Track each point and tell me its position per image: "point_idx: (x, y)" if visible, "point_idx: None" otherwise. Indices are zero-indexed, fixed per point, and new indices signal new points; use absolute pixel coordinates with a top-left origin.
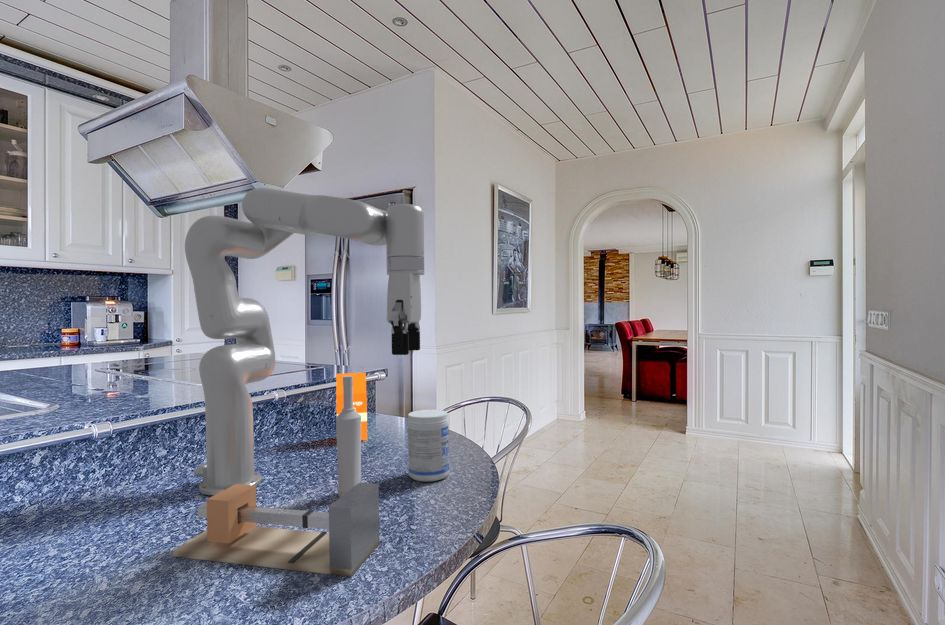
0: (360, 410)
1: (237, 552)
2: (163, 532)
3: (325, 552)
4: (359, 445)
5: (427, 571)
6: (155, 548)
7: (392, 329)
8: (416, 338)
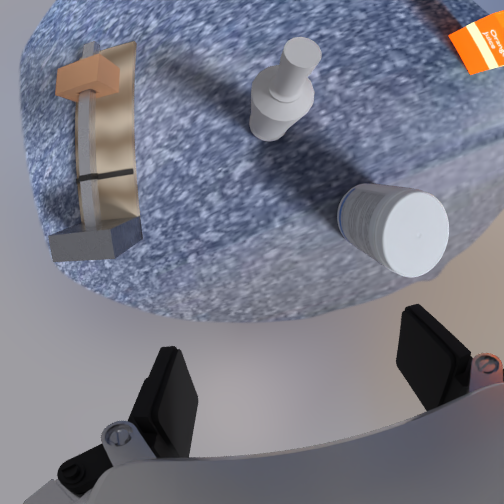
0: (496, 56)
1: None
2: (123, 8)
3: (99, 201)
4: (276, 130)
5: (118, 302)
6: (94, 32)
7: (103, 444)
8: (419, 390)
